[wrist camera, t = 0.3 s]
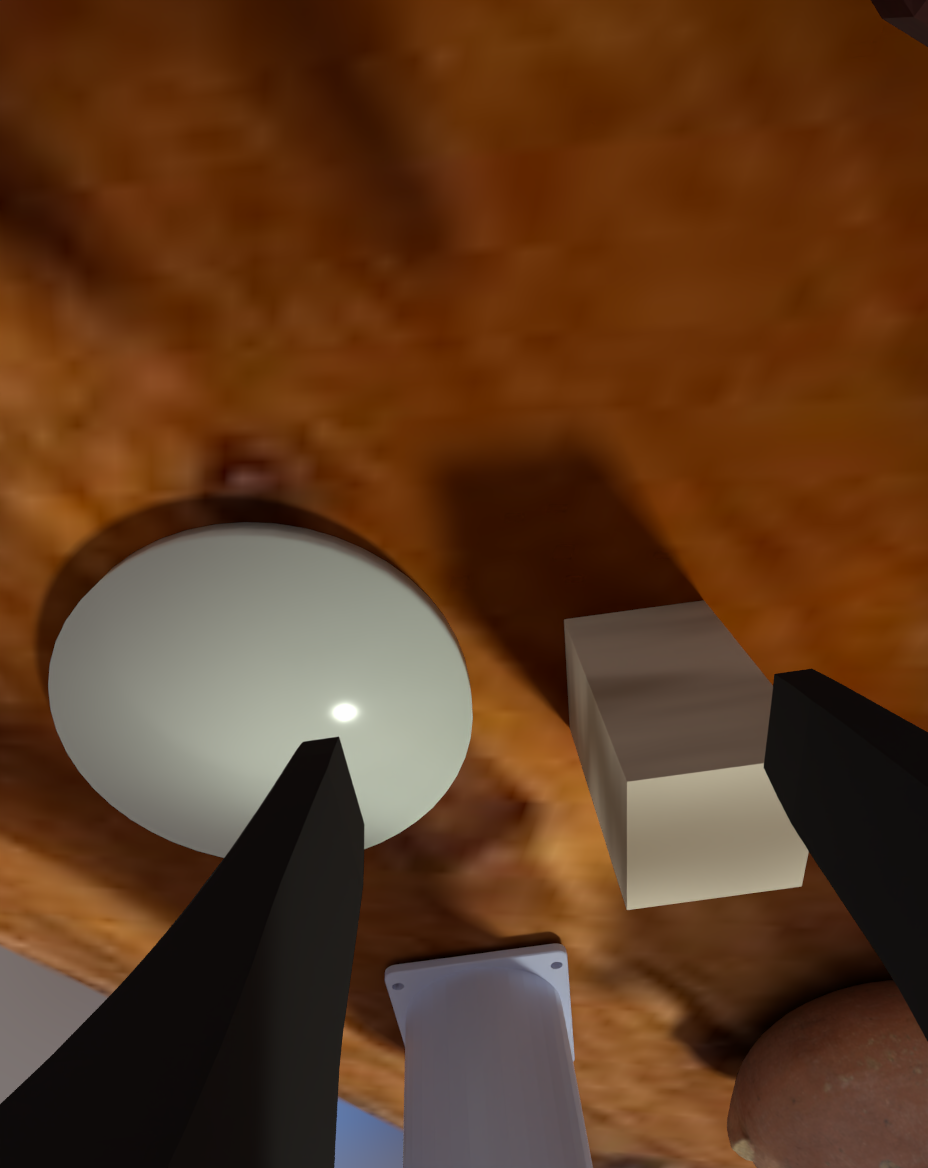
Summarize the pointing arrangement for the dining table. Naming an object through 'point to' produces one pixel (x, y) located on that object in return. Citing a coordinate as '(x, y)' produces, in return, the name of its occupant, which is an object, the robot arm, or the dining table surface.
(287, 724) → the plate
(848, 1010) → the ceramic jug
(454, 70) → the dining table surface
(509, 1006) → the robot arm
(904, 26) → the potato
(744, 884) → the block
